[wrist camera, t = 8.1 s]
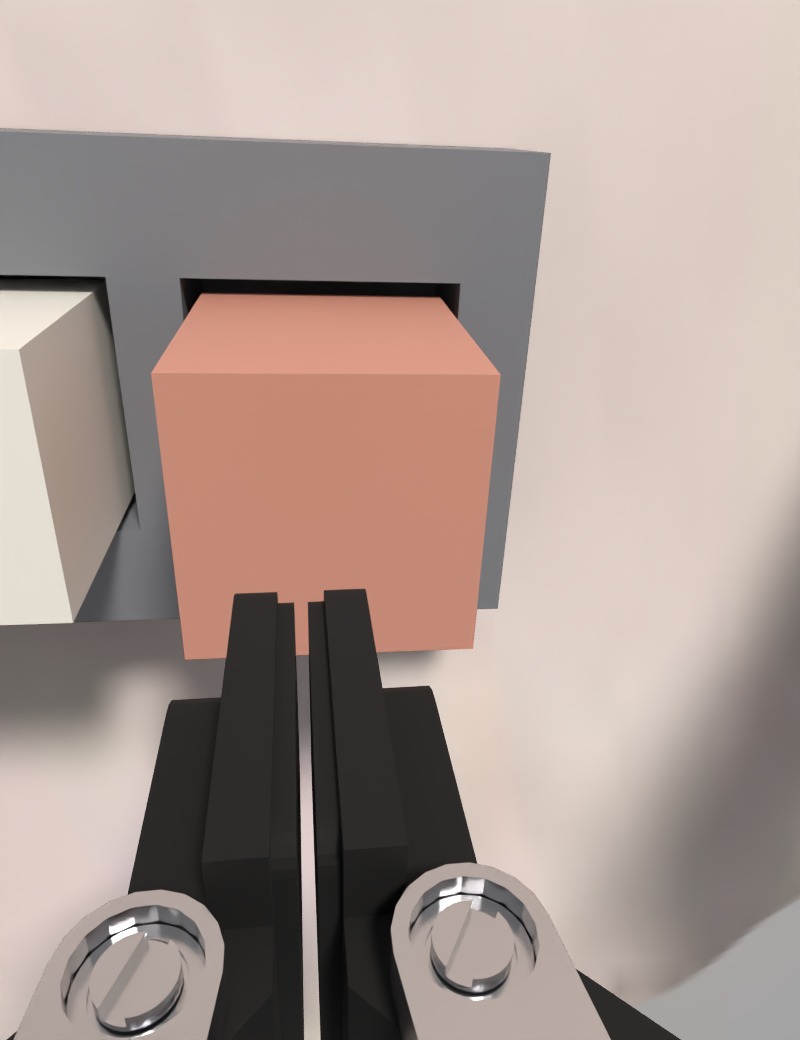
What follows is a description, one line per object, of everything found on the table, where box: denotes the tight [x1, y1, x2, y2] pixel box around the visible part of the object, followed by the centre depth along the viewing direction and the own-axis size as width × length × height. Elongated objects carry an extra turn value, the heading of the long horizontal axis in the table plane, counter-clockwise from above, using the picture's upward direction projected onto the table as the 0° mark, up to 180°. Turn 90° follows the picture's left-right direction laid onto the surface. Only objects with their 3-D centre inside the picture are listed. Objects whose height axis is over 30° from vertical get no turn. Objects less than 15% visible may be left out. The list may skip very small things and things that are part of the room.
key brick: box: [151, 292, 501, 660], centre depth 16 cm, size 6×6×6 cm
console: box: [0, 128, 551, 622], centre depth 19 cm, size 26×12×4 cm, turn 89°
